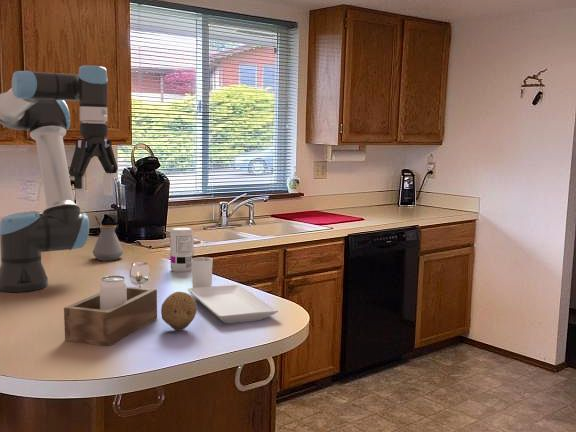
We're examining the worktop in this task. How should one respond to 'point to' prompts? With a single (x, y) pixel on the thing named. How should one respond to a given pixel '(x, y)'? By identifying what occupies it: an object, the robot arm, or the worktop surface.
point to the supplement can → (181, 249)
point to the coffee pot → (107, 243)
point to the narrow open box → (109, 317)
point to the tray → (233, 303)
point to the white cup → (202, 272)
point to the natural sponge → (178, 310)
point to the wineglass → (139, 273)
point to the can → (112, 292)
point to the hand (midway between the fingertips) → (94, 197)
